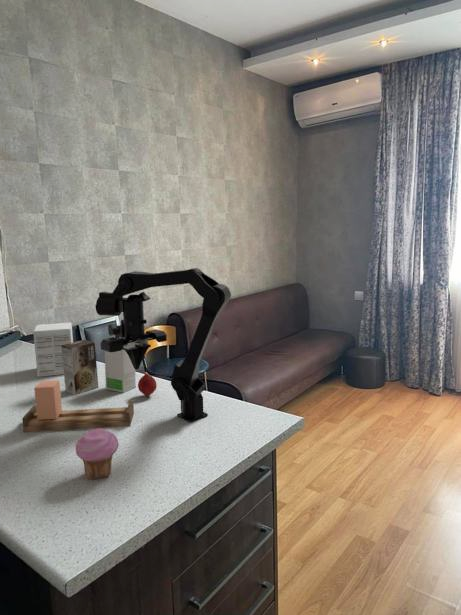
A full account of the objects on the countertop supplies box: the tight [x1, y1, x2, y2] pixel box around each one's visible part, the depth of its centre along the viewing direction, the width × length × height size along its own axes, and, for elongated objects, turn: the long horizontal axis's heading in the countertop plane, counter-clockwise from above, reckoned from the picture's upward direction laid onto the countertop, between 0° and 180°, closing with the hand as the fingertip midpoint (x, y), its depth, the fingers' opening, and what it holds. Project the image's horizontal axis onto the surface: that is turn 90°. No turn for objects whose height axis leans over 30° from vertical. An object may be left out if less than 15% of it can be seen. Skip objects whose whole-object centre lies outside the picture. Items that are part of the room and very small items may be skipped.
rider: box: [33, 379, 63, 420], centre depth 124 cm, size 5×6×10 cm
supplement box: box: [32, 322, 74, 378], centre depth 174 cm, size 13×13×18 cm
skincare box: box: [104, 349, 137, 394], centre depth 152 cm, size 8×7×16 cm
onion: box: [137, 371, 158, 397], centre depth 145 cm, size 6×6×8 cm
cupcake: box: [75, 428, 119, 480], centre depth 98 cm, size 9×9×10 cm
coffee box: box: [61, 339, 99, 396], centre depth 152 cm, size 9×6×16 cm
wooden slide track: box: [21, 400, 135, 433], centre depth 126 cm, size 28×9×4 cm, turn 95°
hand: (136, 369), depth 130 cm, fingers closed
